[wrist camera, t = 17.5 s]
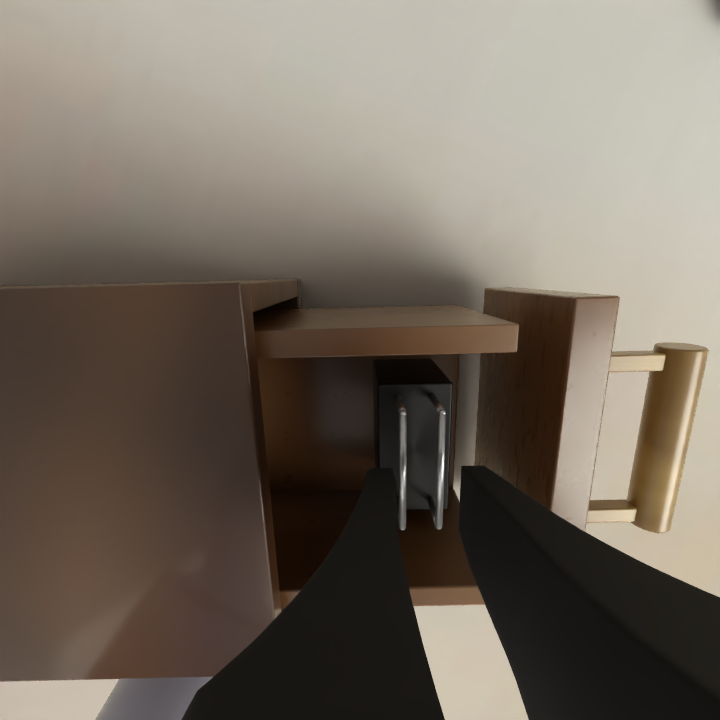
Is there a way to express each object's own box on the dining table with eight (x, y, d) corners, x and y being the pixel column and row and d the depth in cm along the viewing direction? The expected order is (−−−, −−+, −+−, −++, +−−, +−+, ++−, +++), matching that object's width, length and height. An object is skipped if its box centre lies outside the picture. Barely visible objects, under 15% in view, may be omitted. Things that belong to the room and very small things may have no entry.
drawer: (619, 284, 16) (809, 291, 9) (588, 497, 18) (718, 622, 12) (211, 294, 16) (106, 308, 9) (237, 505, 18) (169, 635, 12)
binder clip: (432, 357, 15) (467, 397, 10) (429, 460, 17) (460, 540, 12) (373, 359, 15) (380, 399, 10) (374, 462, 17) (381, 542, 12)
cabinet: (300, 278, 16) (240, 282, 8) (314, 502, 19) (280, 676, 11) (-9, 286, 17) (-385, 297, 8) (51, 509, 19) (-183, 687, 11)
